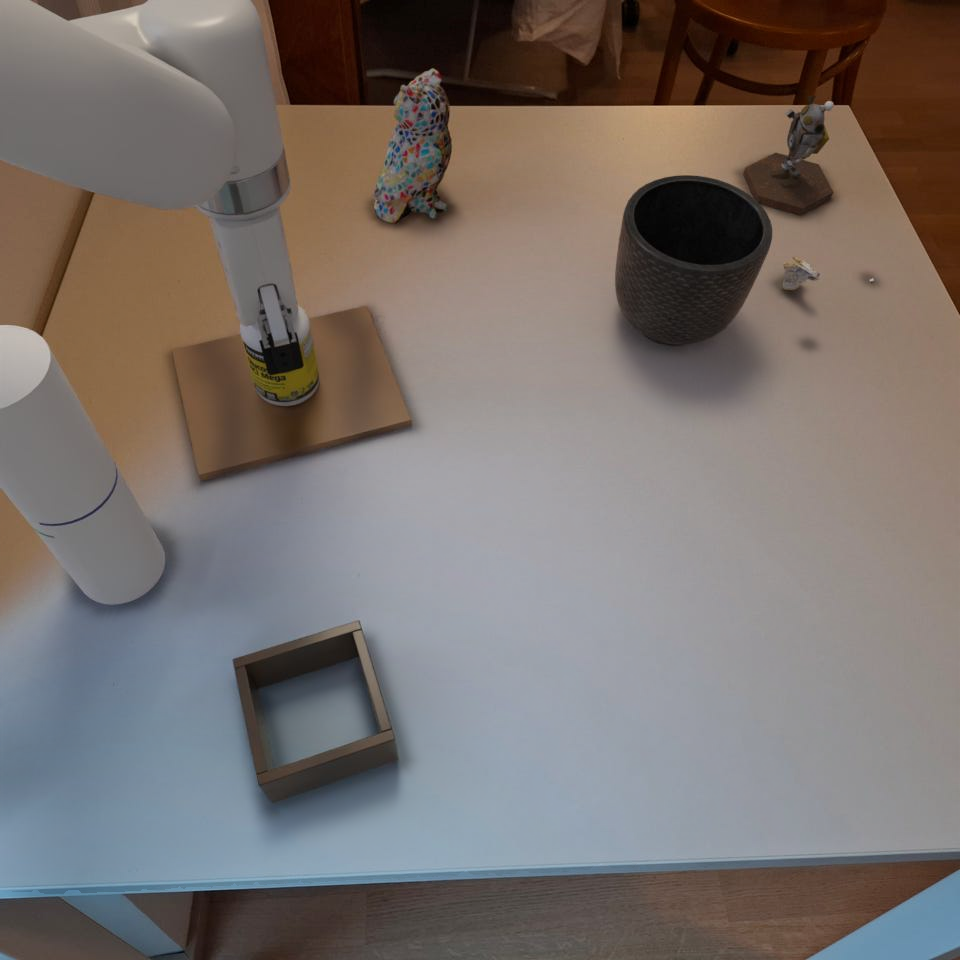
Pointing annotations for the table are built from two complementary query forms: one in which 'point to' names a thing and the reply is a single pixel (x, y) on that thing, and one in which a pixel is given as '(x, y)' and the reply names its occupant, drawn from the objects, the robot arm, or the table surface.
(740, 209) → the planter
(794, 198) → the robot figurine
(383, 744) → the holder
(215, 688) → the table surface
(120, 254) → the table surface
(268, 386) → the pill bottle
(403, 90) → the figurine
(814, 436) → the table surface
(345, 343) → the board
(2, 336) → the cylindrical container
